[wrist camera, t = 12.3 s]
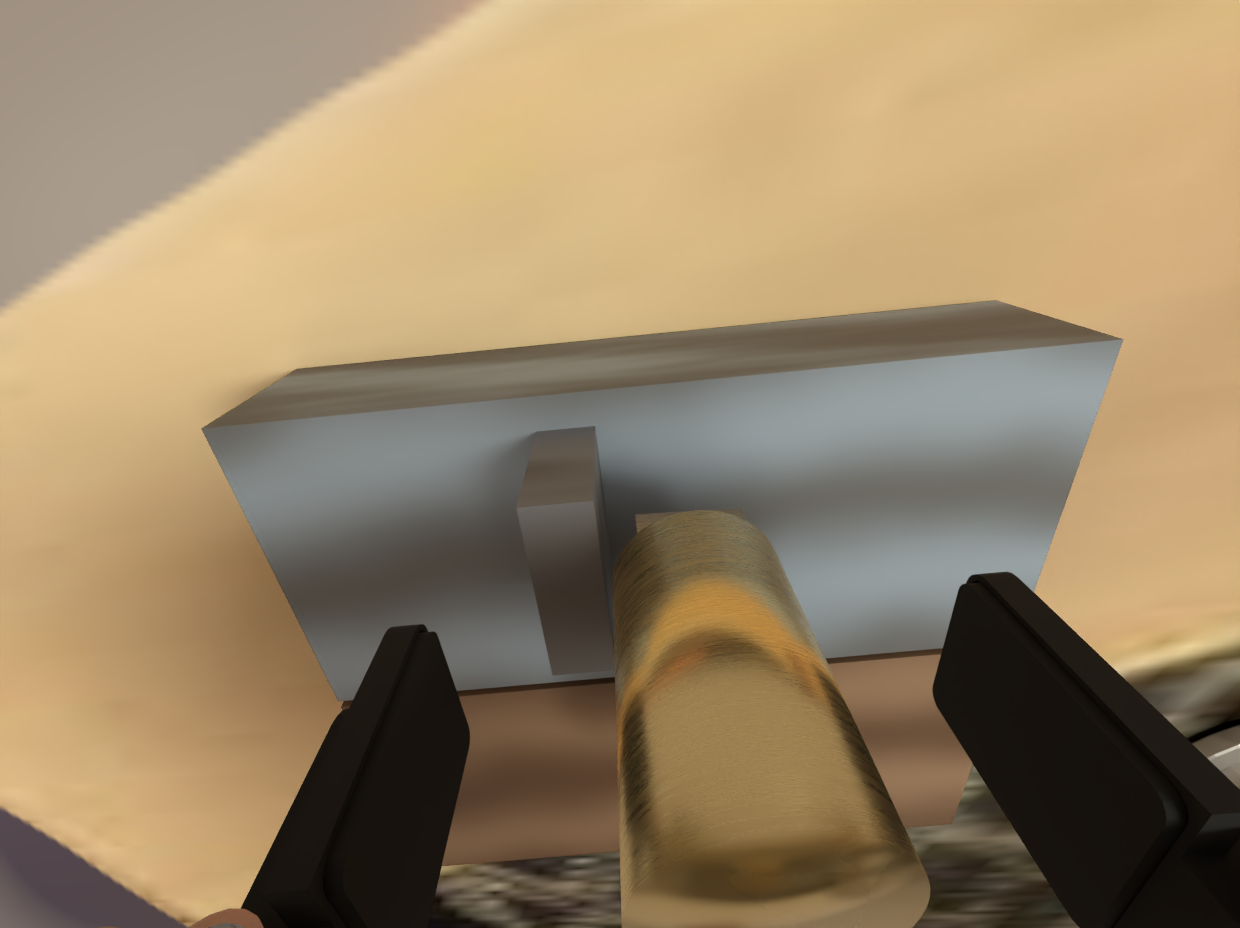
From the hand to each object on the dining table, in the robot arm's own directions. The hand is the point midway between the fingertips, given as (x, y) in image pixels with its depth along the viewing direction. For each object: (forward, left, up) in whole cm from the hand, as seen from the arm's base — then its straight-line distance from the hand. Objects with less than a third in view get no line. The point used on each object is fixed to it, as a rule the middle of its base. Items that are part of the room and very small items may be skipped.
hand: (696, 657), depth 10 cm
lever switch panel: (-8, 0, -11) cm, 14 cm away
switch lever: (-4, 0, -3) cm, 5 cm away
